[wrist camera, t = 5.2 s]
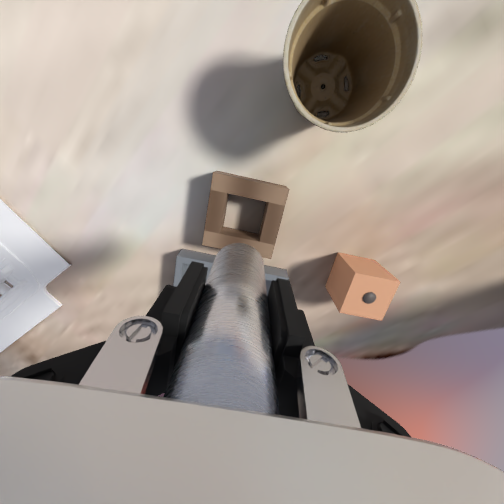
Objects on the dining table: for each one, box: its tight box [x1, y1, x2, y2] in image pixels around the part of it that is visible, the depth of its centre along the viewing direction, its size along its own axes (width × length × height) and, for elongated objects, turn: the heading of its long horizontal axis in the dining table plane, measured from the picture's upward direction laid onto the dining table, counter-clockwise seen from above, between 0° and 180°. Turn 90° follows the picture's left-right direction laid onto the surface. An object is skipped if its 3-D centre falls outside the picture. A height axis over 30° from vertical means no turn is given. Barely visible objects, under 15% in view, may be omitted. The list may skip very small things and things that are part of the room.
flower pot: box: [283, 0, 422, 132], centre depth 21 cm, size 9×9×9 cm
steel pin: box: [164, 243, 279, 415], centre depth 9 cm, size 3×3×12 cm
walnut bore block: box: [202, 171, 289, 259], centre depth 28 cm, size 8×8×3 cm
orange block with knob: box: [325, 253, 400, 321], centre depth 30 cm, size 5×5×6 cm
